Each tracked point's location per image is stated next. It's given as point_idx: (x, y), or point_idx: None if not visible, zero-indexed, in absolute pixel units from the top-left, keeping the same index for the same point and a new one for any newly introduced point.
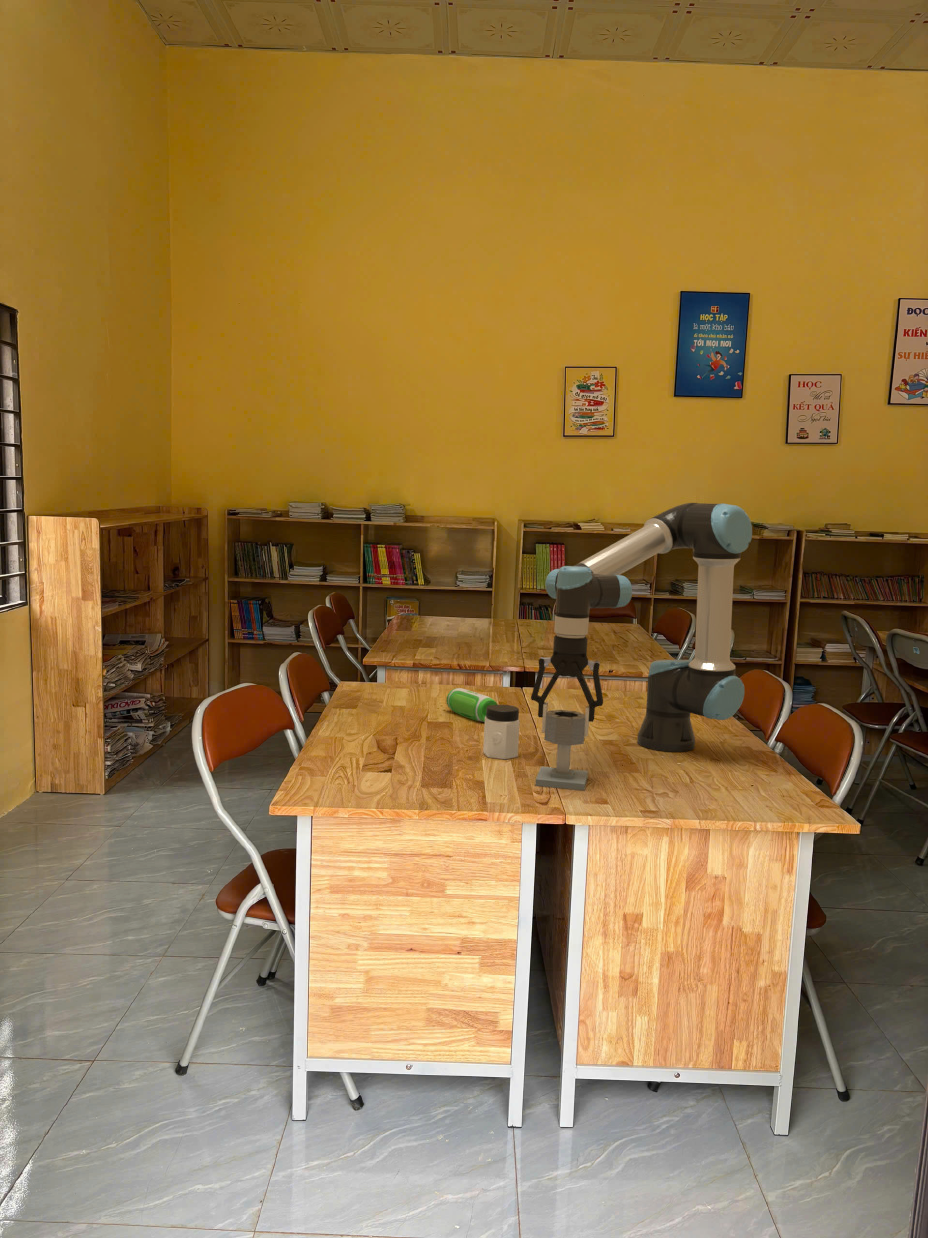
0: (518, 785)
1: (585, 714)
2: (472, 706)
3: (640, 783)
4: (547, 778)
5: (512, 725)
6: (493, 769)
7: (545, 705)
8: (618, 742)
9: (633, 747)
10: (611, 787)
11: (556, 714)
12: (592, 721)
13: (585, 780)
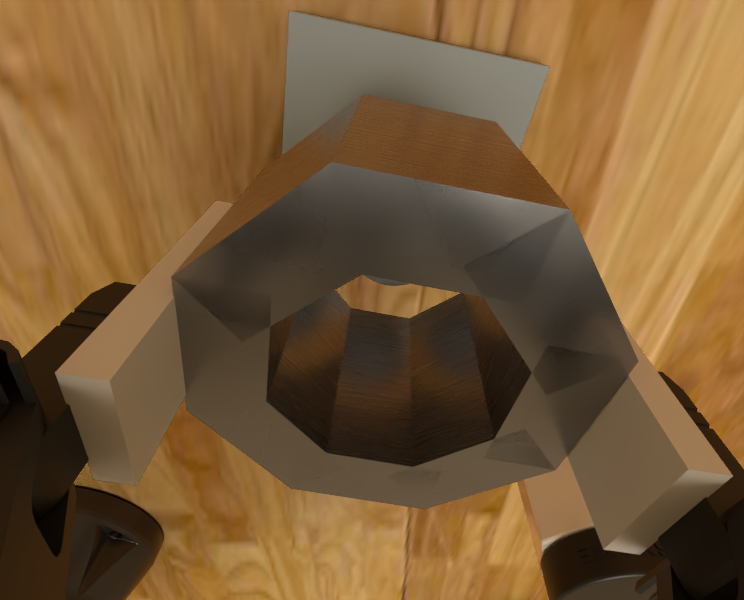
0: (627, 58)
1: (155, 320)
2: None
3: (64, 186)
4: (480, 95)
5: (575, 512)
6: (648, 288)
7: (701, 463)
8: (209, 531)
9: (167, 506)
10: (172, 102)
11: (475, 425)
12: (117, 286)
13: (286, 89)
